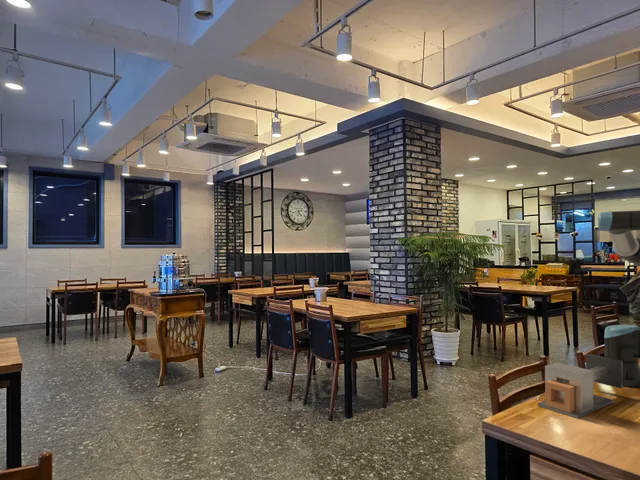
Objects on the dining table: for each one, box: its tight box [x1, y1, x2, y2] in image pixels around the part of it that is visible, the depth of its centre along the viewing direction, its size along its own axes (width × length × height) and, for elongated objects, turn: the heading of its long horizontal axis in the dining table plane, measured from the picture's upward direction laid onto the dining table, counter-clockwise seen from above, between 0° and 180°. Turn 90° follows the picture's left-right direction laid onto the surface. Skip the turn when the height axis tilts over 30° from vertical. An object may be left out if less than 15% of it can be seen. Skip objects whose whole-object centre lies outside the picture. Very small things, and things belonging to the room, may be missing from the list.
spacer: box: [544, 380, 574, 413], centre depth 143 cm, size 3×8×8 cm, turn 35°
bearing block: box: [537, 362, 614, 419], centre depth 149 cm, size 26×13×13 cm, turn 124°
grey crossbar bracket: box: [564, 353, 624, 389], centre depth 154 cm, size 27×12×10 cm, turn 124°
